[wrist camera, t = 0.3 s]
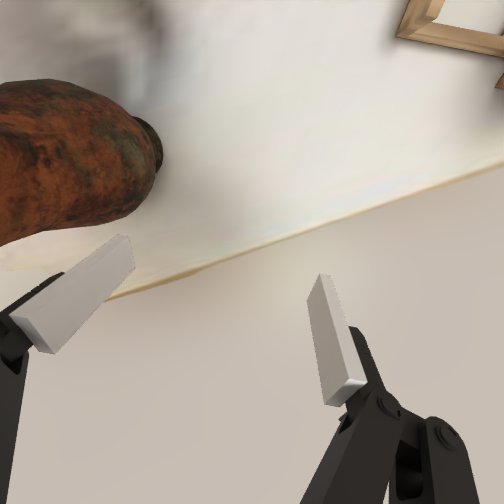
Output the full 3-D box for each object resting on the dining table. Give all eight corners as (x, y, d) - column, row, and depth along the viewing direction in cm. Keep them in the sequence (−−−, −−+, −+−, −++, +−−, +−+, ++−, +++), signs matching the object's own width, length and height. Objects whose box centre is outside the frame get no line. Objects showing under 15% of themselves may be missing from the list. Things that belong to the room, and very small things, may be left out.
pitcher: (199, 165, 37) (36, 263, 12) (127, 218, 44) (-64, 346, 19) (127, 62, 29) (-679, -252, 5) (56, 147, 37) (-387, 202, 12)
